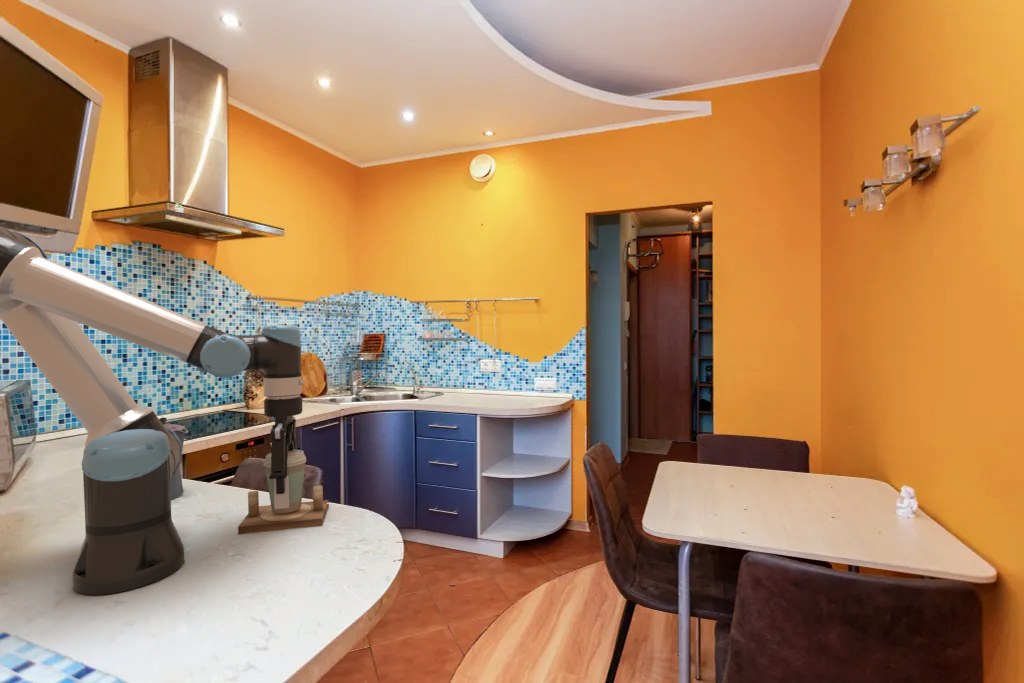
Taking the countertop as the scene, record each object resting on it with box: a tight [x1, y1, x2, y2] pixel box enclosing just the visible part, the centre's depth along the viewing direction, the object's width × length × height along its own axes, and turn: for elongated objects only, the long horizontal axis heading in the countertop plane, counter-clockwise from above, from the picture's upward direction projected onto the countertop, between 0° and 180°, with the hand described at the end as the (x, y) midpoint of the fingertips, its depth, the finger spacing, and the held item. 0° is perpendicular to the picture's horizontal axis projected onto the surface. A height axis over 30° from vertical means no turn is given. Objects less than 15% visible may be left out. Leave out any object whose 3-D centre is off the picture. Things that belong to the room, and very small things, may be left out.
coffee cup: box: [262, 449, 307, 513], centre depth 109 cm, size 9×8×12 cm
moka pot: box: [158, 417, 189, 500], centre depth 125 cm, size 10×15×20 cm, turn 89°
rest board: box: [237, 485, 330, 535], centre depth 109 cm, size 12×16×6 cm
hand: (285, 501), depth 109 cm, fingers open, 8 cm apart
